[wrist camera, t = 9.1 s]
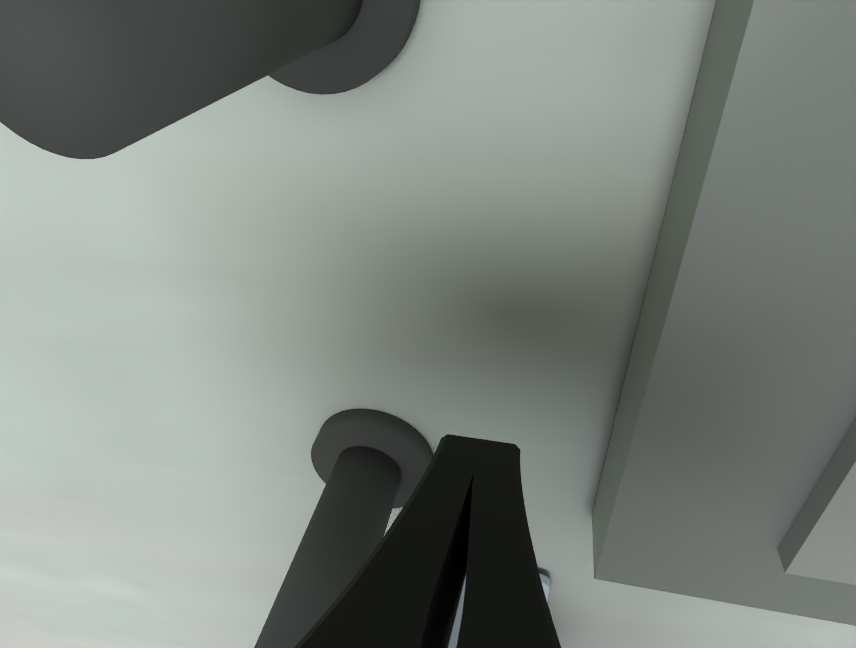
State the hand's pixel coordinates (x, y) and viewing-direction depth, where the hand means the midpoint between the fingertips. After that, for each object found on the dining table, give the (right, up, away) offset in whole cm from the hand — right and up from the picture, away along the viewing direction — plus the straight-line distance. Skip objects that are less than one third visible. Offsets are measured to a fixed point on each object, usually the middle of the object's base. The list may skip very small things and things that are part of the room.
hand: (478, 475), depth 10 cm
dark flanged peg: (-3, +10, +2) cm, 11 cm away
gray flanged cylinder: (-3, -2, +10) cm, 11 cm away
